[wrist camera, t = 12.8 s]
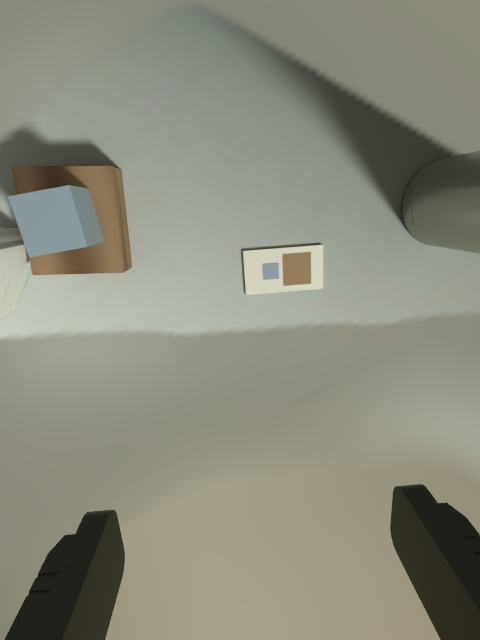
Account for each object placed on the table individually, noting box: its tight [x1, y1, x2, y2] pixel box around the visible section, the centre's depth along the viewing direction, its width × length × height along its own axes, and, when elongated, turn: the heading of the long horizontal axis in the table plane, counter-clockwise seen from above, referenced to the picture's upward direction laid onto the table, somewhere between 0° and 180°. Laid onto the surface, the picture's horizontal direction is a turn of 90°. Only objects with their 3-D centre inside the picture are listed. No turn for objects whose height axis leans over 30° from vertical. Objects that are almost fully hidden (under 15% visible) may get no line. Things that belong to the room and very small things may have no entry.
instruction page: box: [243, 245, 323, 295], centre depth 41 cm, size 9×5×1 cm, turn 94°
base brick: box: [12, 166, 132, 275], centre depth 36 cm, size 9×10×4 cm
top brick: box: [8, 185, 104, 258], centre depth 32 cm, size 5×5×5 cm
